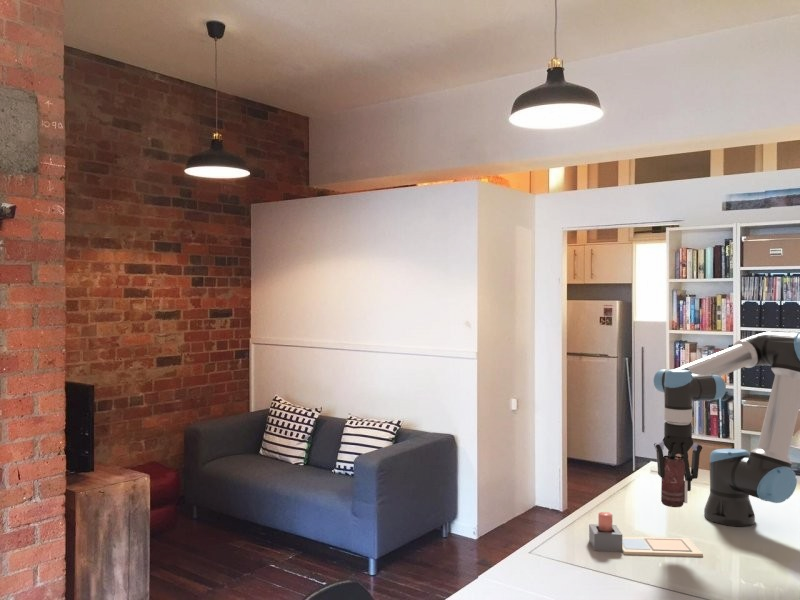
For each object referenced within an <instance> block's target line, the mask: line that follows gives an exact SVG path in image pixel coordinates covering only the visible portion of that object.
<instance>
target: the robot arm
mask: <svg viewBox="0 0 800 600" xmlns="http://www.w3.org/2000/svg"><path fill="white" fill-rule="evenodd" d="M757 366H769V367H771V369H770V370H771V371H772V373H773V374H774V378H773V383H772V387H771V391H770V395H769V399H768V404H767V406H766V407H767V408H766V410H765V416H764V417H763V418H764V419H763V423H762V426H761V430H760V431H761V432H760V436H759V438H758V439H759V440H758V443H757V447H755V448H754V449H752V450H750V452H749V450H747V449H742V448H716V449H715V450H712V451H711V452H710V455H709V456H710V457H709V495H708V498H707V501H706V503H705V507H704V508H703V509H704V512H703V513H704V514H703V516H704V518H705V519H707V520H708V521H711V522H713V523H715V524H719V525H723V526H730V527H748V526H752V525H754V524H755V522H756V514H755V512H754V509H753V505H752V503H751V500H750V496H751V497H754V498H757V499H760V500H761V501H763V502H770V503H774V504H781V503H784V502H785V501H787V500H788V499H790V498H791V496H792V495H793V494H794V492H795V490H796V487H797V482H798V481H797V475H796V472H795V471H794V470H793V469H792V464H793V463H792V461H791V459H790V458H789V453H790V448H791V445H792V441H793V436H794V433H795V432H794V431H795V428H796V424H797V420H798V416H799V411H800V332H797V331H796V332H795V331H793V332H791V331H778V330H767V331H764V332H759V333H756V334H753V335H750V336H747V337H745V338H741V339H740V340H739V339H738V340H736V342H735V343H734V344H733V346H730V347H728V348H725V349H723V350H719V351H717V352H714V353H713V354H709V355H708V356H707V355H706V356H705V357H703V358H702V357H701V358H699V359H697V360H695V361H692V362H688V363H687V364H684V365H681V366H679V367H676V368H673V369H670V368H669V369H668V368H666V369H659V370H658V371H657V372H655V374H654V376H653V384H654V385H653V386H654V388H655V389H656V390H657V391H658V392H661V393H664V419H663V420H664V421H665V422H664V424H663V425H664V426H663V427H664V428H663V430H664V433H663V434H664V435H663V436H664V437H663V439H662V441H661V442H658V443H657V442H655V443H654V444H653V447H654V449H655V452H656V460H657V461H656V462H657V464H656V465H657V474H658V476H659V477H660V479H662V478H664V477H665V473H664V459H663V457H664V452H663V450H664V447H665V448H666V449H667V455H668V457H669V459H671V460H674V459H675V457H676V456H677V455H680V457H682V458H683V459H684V463H685V471H684V504H688V492H691V491H692V490H691V489H692V486H691V485H692V483H691V482H692V481H693V480H694V479H695V480H696V479H698V478H699V465H700V455H701V452H702V449H703V446H702V445H700V444H699V443H695V442H694V439H693V438H692V437H693V425H692V422H693V402H699V401H716V400H720V399H722V398H723V397H724V396H725V394H726V392H727V386H726V385H727V384H726V382H725V380H724V379H723V378H722V377H723V376H726V375H727V374H730V373H733V372H735V371H738V370H740V369H743V368H747V369H751V368H754V367H757ZM690 449H692V453H691V454H692V457H691V466H690V461H689V453H688V452H689V451H690ZM690 468H691V469H690Z"/></svg>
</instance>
